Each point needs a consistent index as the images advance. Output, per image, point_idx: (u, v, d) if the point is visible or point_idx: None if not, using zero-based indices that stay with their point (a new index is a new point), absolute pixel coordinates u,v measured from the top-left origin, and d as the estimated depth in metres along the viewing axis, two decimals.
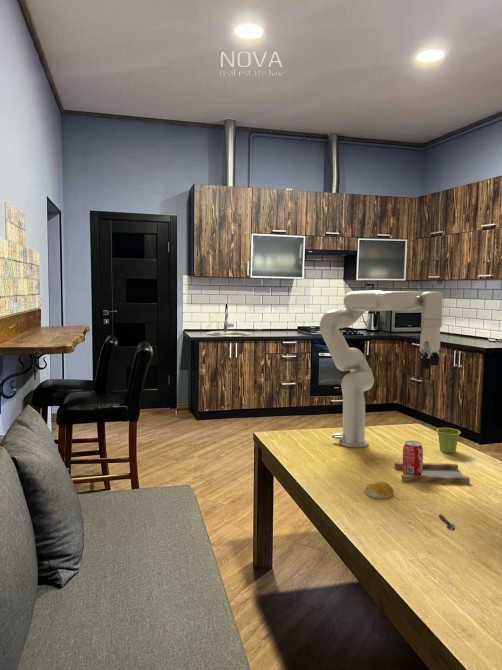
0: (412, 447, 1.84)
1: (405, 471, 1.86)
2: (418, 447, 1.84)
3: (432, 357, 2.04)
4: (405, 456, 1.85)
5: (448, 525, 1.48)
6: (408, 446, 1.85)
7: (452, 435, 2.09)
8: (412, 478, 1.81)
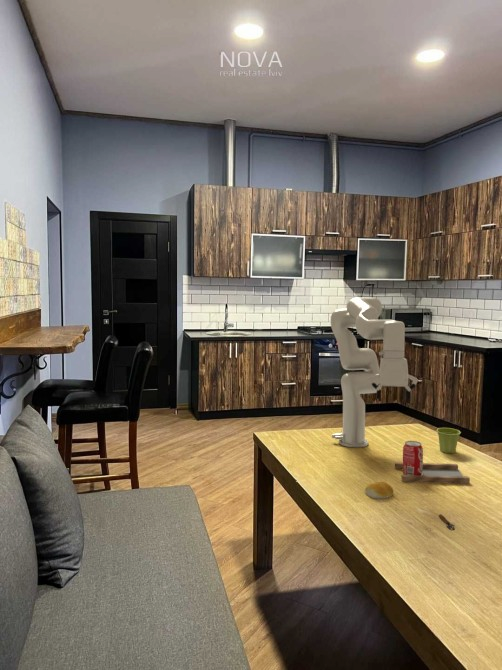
0: (412, 447, 1.84)
1: (405, 471, 1.86)
2: (418, 447, 1.84)
3: (380, 392, 1.88)
4: (405, 456, 1.85)
5: (448, 525, 1.48)
6: (408, 446, 1.85)
7: (452, 435, 2.09)
8: (412, 478, 1.81)
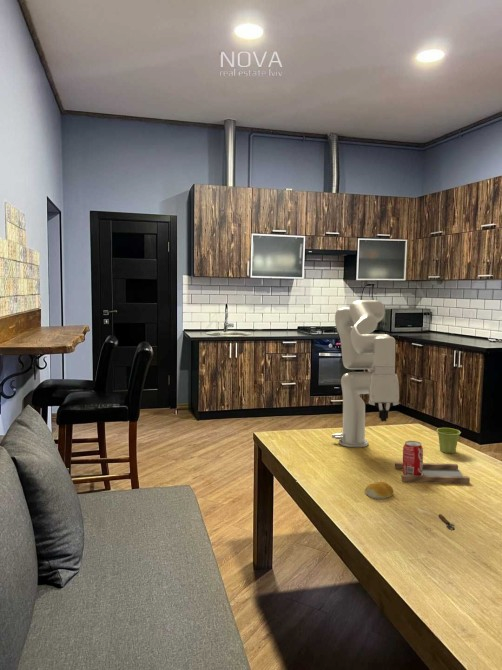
0: (412, 447, 1.84)
1: (405, 471, 1.86)
2: (418, 447, 1.84)
3: None
4: (405, 456, 1.85)
5: (448, 525, 1.48)
6: (408, 446, 1.85)
7: (452, 435, 2.09)
8: (412, 478, 1.81)
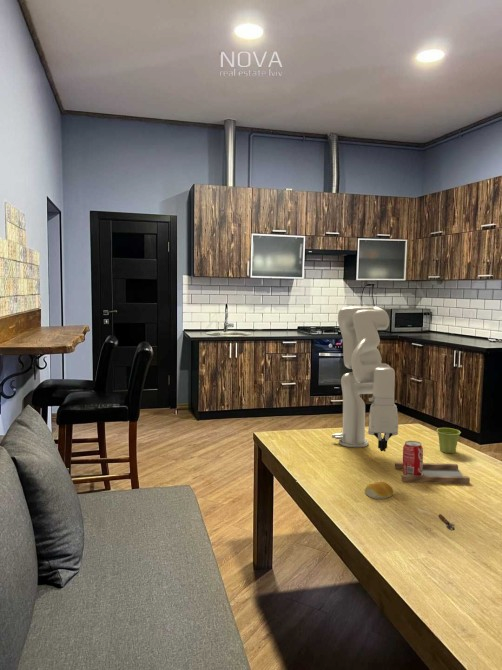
0: (412, 447, 1.84)
1: (405, 471, 1.86)
2: (418, 447, 1.84)
3: None
4: (405, 456, 1.85)
5: (448, 525, 1.48)
6: (408, 446, 1.85)
7: (452, 435, 2.09)
8: (412, 478, 1.81)
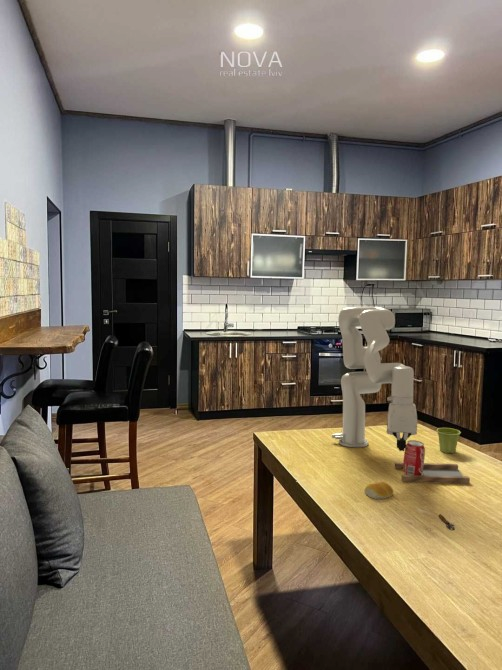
0: (414, 447, 1.84)
1: (405, 470, 1.86)
2: (420, 447, 1.84)
3: None
4: (407, 455, 1.85)
5: (448, 525, 1.48)
6: (410, 445, 1.85)
7: (452, 435, 2.09)
8: (412, 478, 1.81)
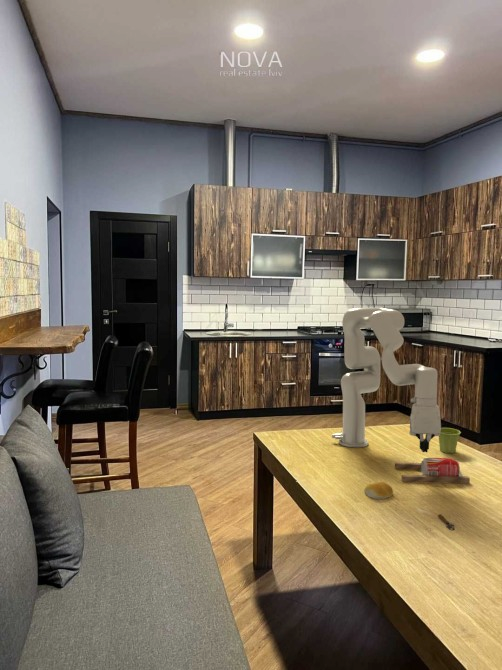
0: (457, 474, 1.81)
1: (430, 468, 1.81)
2: None
3: None
4: (447, 469, 1.81)
5: (448, 525, 1.48)
6: (457, 471, 1.81)
7: (452, 435, 2.09)
8: (412, 478, 1.81)
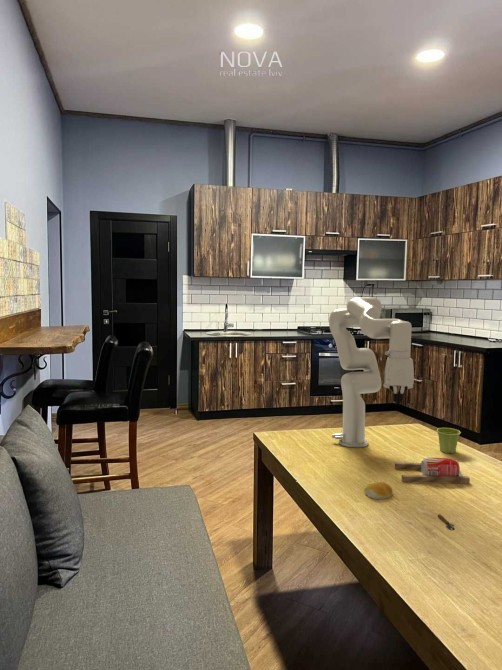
0: (457, 474, 1.81)
1: (430, 468, 1.81)
2: None
3: None
4: (447, 469, 1.81)
5: (448, 525, 1.48)
6: (457, 471, 1.81)
7: (452, 435, 2.09)
8: (412, 478, 1.81)
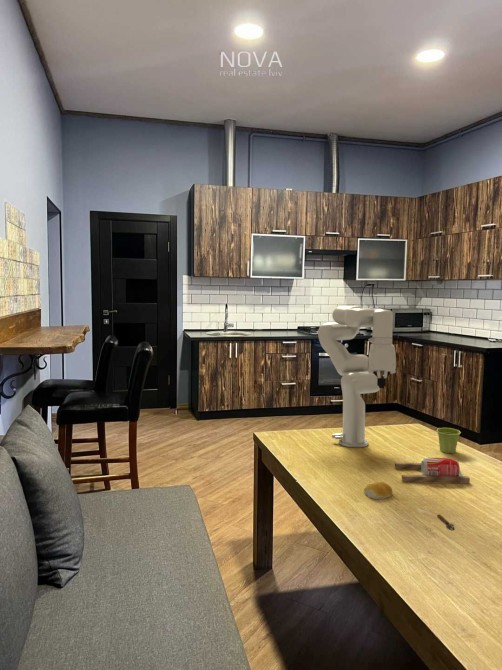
0: (457, 474, 1.81)
1: (430, 468, 1.81)
2: None
3: None
4: (447, 469, 1.81)
5: (447, 525, 1.48)
6: (457, 471, 1.81)
7: (452, 435, 2.09)
8: (412, 478, 1.81)
